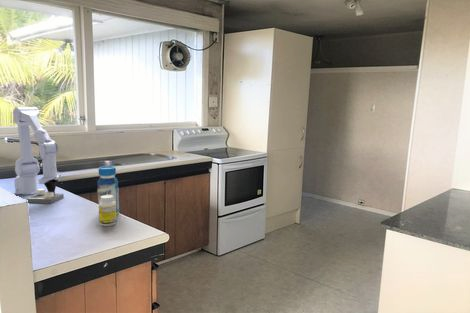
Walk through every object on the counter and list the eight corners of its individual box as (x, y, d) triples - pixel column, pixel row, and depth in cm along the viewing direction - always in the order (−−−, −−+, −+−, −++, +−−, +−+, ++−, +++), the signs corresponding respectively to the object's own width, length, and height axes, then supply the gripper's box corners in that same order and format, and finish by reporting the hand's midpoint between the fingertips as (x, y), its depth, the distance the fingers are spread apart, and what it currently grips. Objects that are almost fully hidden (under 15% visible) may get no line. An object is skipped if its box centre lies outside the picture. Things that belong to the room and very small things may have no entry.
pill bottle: (102, 221, 142) (101, 194, 140) (118, 220, 143) (117, 194, 141) (97, 226, 136) (96, 198, 134) (114, 226, 137) (113, 198, 135)
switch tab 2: (44, 197, 166) (44, 192, 166) (47, 196, 169) (47, 191, 168) (50, 197, 166) (50, 193, 166) (53, 196, 168) (53, 191, 168)
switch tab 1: (36, 194, 171) (36, 190, 171) (39, 193, 174) (39, 188, 173) (42, 194, 171) (42, 190, 171) (45, 193, 173) (45, 189, 173)
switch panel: (27, 202, 166) (26, 198, 166) (40, 196, 176) (40, 192, 176) (51, 203, 165) (51, 199, 165) (63, 197, 175) (63, 193, 175)
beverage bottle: (123, 212, 154) (122, 166, 151) (109, 217, 146) (107, 170, 143) (108, 209, 157) (106, 164, 154) (94, 215, 149) (91, 168, 146)
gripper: (48, 170, 159) (50, 199, 162) (66, 164, 174) (68, 191, 176) (33, 170, 160) (35, 199, 162) (52, 164, 174) (54, 191, 176)
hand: (51, 195), depth 169 cm, fingers closed
